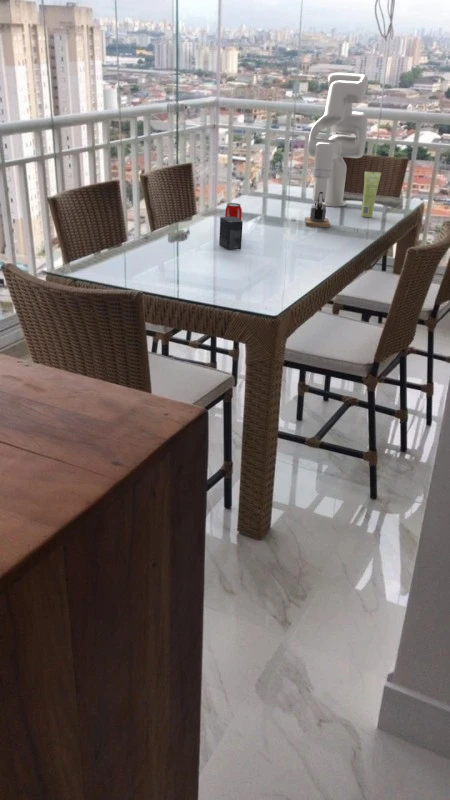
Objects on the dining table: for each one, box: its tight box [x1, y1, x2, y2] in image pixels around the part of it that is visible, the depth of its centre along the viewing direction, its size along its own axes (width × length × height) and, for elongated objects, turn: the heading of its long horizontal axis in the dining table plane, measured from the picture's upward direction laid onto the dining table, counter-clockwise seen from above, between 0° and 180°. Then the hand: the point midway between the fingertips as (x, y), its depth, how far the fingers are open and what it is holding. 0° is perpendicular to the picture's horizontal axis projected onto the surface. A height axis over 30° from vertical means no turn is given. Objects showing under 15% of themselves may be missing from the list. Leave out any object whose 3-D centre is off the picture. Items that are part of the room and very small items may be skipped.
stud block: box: [304, 216, 331, 228], centre depth 300 cm, size 10×10×5 cm
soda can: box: [224, 202, 243, 221], centre depth 274 cm, size 6×6×12 cm
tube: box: [360, 170, 382, 218], centre depth 314 cm, size 6×5×20 cm
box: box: [218, 216, 243, 251], centre depth 259 cm, size 8×6×11 cm
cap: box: [309, 204, 327, 220], centre depth 299 cm, size 6×6×5 cm
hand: (317, 216), depth 299 cm, fingers closed on cap, 6 cm apart
